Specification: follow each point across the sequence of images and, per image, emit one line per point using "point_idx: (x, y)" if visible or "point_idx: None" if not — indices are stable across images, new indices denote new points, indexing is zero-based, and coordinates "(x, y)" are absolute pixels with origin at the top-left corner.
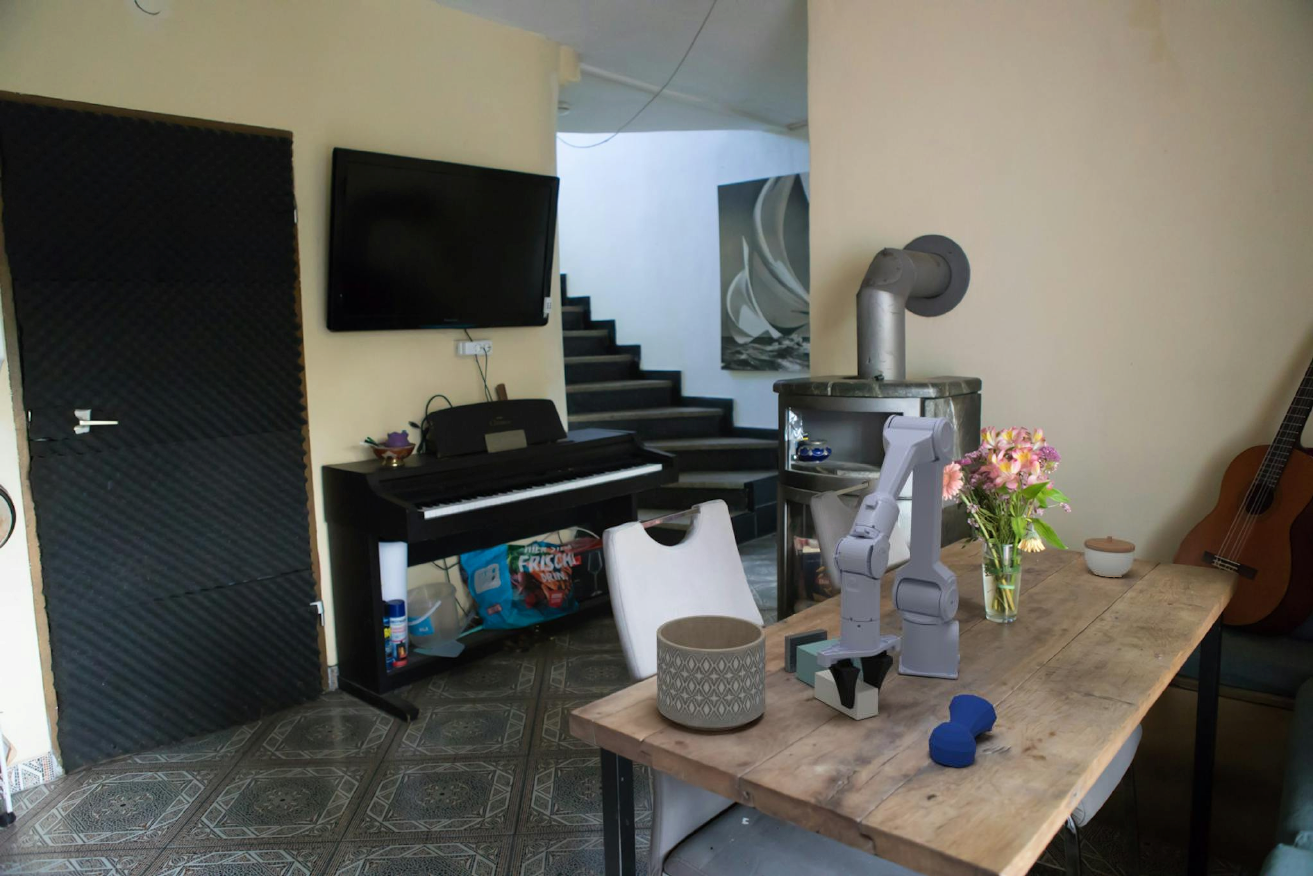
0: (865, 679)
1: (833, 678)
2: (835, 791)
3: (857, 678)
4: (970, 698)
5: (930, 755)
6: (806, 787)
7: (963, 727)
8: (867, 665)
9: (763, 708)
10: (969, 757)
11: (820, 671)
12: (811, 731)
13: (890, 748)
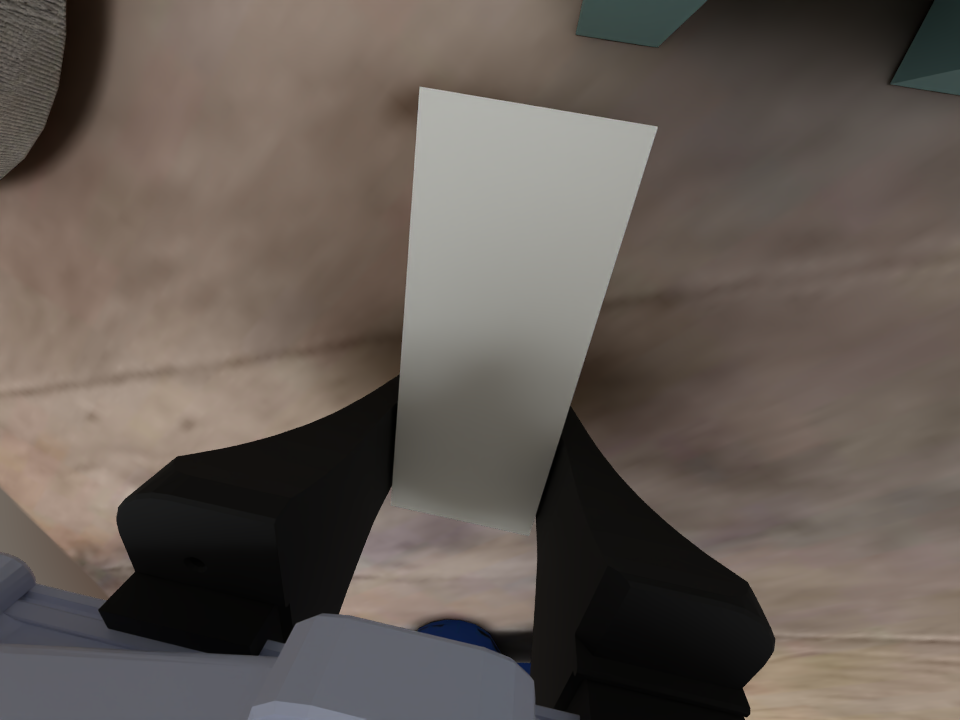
0: (562, 468)
1: (450, 290)
2: (130, 565)
3: (944, 87)
4: None
5: (424, 627)
6: (74, 525)
7: None
8: (564, 570)
9: (6, 153)
10: None
11: (483, 100)
12: (226, 363)
13: (374, 558)
